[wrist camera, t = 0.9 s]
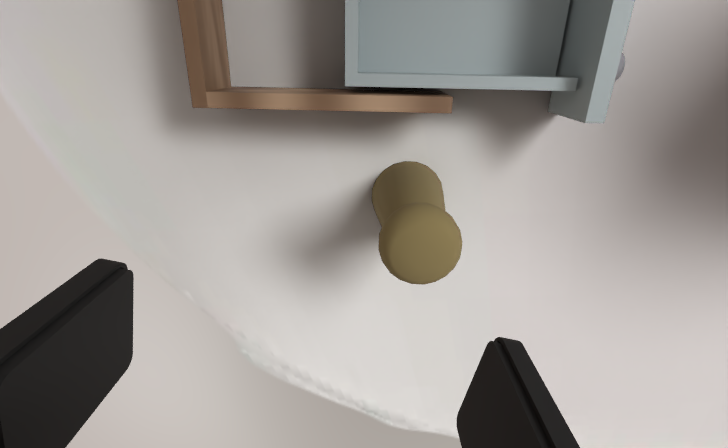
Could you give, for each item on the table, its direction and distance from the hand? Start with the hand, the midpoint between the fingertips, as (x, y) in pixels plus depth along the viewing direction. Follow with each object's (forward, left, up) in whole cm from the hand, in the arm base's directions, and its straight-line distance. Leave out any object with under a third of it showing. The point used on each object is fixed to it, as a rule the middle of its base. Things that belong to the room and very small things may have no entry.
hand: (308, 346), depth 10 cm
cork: (-5, +4, -24) cm, 24 cm away
